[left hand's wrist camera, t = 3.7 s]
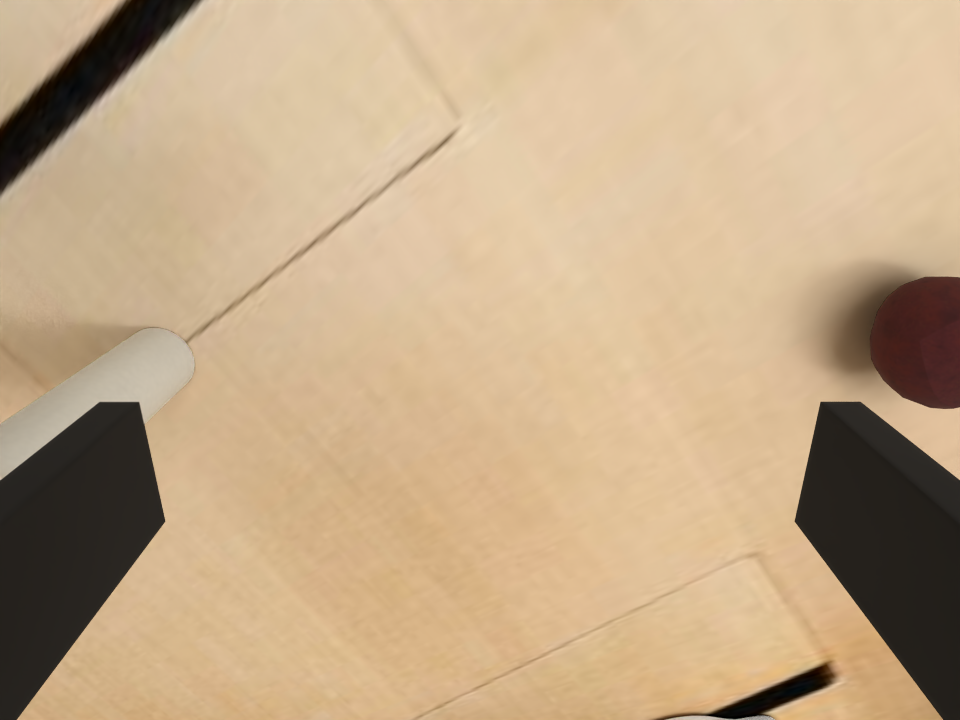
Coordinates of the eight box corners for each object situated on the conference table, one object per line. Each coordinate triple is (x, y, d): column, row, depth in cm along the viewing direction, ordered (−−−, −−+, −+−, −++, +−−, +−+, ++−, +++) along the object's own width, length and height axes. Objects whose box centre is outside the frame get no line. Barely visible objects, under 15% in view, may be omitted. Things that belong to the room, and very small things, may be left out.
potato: (871, 396, 43) (942, 450, 36) (826, 303, 40) (893, 342, 34) (981, 339, 41) (1075, 383, 35) (941, 238, 39) (1034, 266, 32)
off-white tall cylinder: (203, 344, 42) (8, 514, 24) (184, 400, 43) (-11, 598, 26) (134, 316, 41) (-116, 471, 24) (118, 375, 42) (-127, 560, 25)
